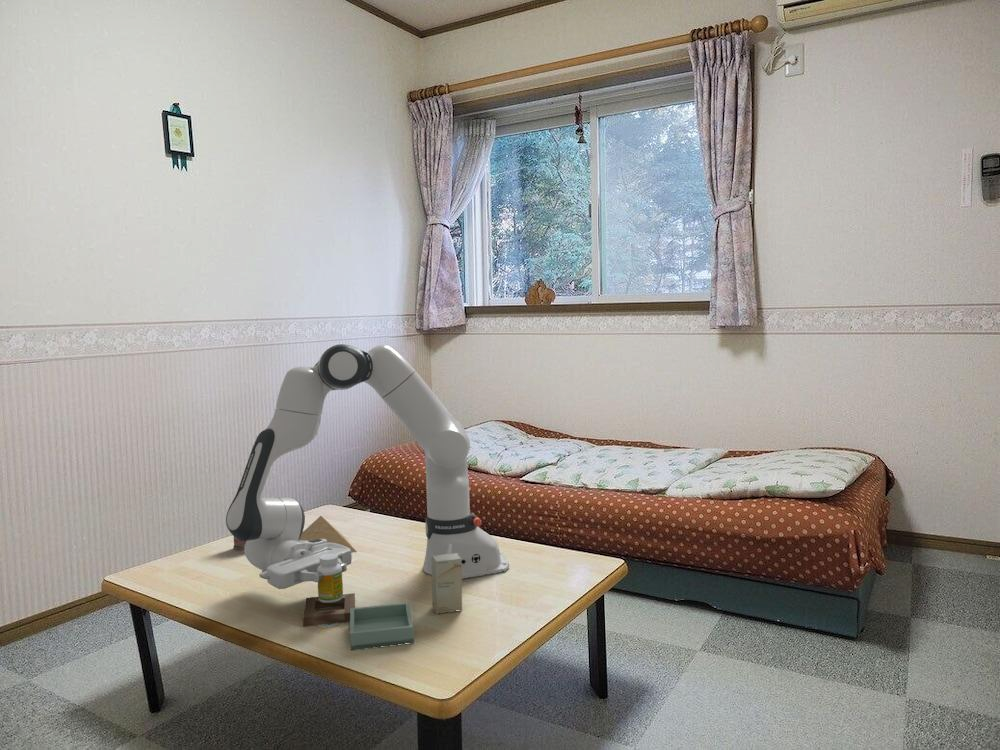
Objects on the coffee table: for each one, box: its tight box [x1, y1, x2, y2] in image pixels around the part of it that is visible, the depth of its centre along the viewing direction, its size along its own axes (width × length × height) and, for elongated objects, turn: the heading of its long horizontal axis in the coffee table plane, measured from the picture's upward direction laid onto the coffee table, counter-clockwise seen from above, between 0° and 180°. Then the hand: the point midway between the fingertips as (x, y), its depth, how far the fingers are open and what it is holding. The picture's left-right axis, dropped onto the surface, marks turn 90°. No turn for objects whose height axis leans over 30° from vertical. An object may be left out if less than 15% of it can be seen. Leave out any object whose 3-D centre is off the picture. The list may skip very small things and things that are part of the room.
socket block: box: [302, 592, 356, 628], centre depth 162 cm, size 11×11×2 cm
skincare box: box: [431, 553, 463, 615], centre depth 163 cm, size 6×4×12 cm
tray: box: [349, 602, 415, 651], centre depth 152 cm, size 13×13×4 cm
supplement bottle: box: [317, 554, 344, 603], centre depth 162 cm, size 5×5×10 cm
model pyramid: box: [299, 515, 358, 554], centre depth 207 cm, size 17×17×10 cm
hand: (332, 573), depth 161 cm, fingers closed on supplement bottle, 5 cm apart
